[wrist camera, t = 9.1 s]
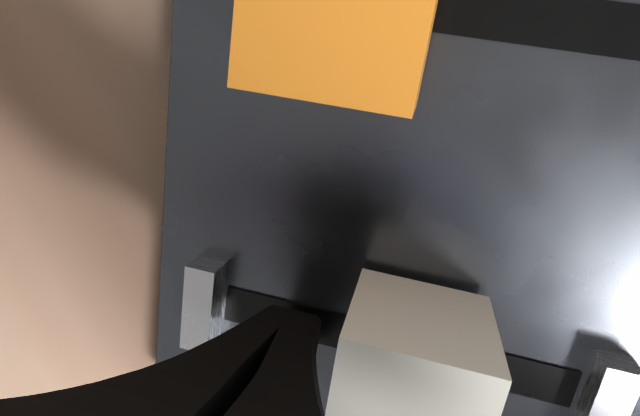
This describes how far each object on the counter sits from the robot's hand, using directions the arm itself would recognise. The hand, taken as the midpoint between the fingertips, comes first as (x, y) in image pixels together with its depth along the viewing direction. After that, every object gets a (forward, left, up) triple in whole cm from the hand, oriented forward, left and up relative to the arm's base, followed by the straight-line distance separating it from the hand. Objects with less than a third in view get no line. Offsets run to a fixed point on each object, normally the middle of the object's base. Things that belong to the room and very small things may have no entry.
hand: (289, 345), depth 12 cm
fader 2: (0, -3, -1) cm, 3 cm away
